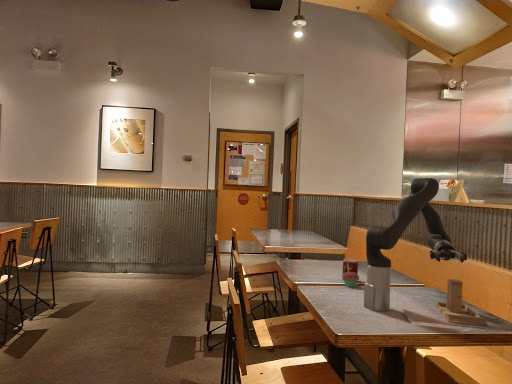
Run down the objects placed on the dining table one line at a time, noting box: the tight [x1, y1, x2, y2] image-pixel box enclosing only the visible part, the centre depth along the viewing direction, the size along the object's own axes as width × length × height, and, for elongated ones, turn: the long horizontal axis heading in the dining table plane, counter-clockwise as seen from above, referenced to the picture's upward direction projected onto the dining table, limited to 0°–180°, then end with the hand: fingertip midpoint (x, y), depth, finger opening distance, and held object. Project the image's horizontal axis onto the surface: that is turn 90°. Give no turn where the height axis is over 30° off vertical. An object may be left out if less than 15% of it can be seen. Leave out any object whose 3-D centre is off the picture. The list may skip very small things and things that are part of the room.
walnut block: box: [445, 277, 463, 313], centre depth 153 cm, size 6×4×12 cm, turn 167°
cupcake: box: [341, 263, 360, 288], centre depth 196 cm, size 9×8×12 cm
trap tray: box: [434, 301, 487, 330], centre depth 148 cm, size 22×12×4 cm, turn 167°
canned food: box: [342, 258, 359, 281], centre depth 210 cm, size 8×8×11 cm
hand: (450, 259), depth 161 cm, fingers open, 8 cm apart
